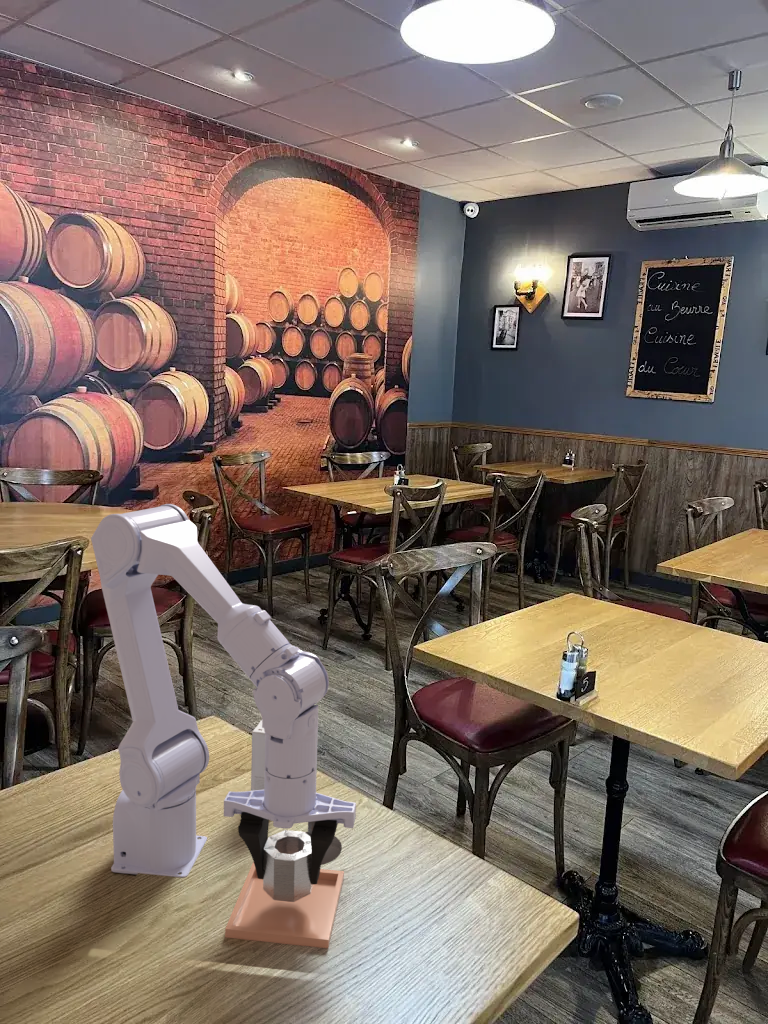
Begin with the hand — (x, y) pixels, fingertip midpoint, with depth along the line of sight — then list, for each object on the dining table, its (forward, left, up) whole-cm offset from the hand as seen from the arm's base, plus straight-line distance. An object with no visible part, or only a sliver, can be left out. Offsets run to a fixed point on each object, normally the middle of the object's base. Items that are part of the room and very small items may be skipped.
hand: (288, 875), depth 84 cm
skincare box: (-7, +21, -5) cm, 23 cm away
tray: (0, 0, -4) cm, 4 cm away
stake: (+1, +11, -4) cm, 12 cm away
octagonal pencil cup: (0, 0, -1) cm, 1 cm away
